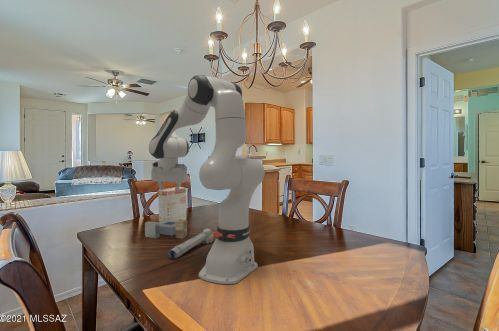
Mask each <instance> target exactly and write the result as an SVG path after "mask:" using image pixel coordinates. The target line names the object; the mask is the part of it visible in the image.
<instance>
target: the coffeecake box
mask: <svg viewBox="0 0 499 331" xmlns="http://www.w3.org/2000/svg"><path fill="white" fill-rule="evenodd" d="M176 187H177V186H176ZM176 187H168V188H164V190H160V189H158V191H157V196H158V197H157V198H158V222H159V223H160V222H162V221H165V220H167V219H169V220H180V219H182V220H187V188H186V187H183V186H180V190H179V191H175V188H176Z"/></svg>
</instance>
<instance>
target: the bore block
mask: <svg viewBox="0 0 499 331" xmlns="http://www.w3.org/2000/svg"><path fill="white" fill-rule="evenodd" d="M175 221H177V220H169V219H167V220H165V221H162V222H160V223H159V232H160V235H165V236H166V235H167V236H172V237H173V236H176V229H175Z"/></svg>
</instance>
